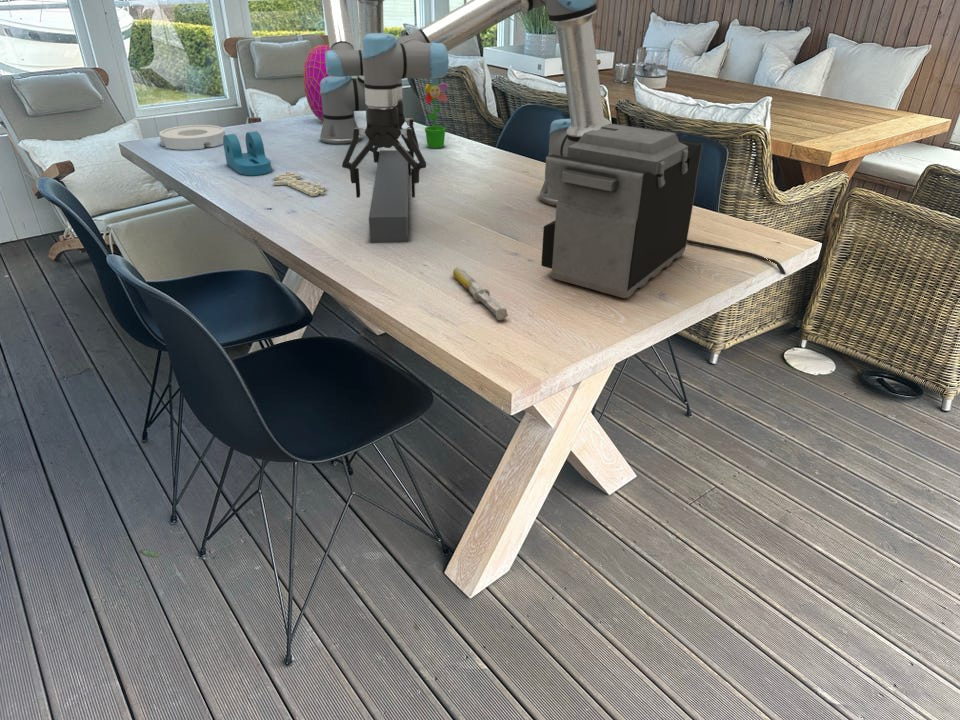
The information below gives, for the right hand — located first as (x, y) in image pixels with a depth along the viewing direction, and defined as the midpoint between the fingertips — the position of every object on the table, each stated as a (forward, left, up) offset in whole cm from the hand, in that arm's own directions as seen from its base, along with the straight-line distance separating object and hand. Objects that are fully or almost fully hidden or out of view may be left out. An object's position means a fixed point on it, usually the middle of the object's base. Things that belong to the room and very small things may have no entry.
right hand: (386, 196), depth 171 cm
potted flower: (+34, -89, -10) cm, 96 cm away
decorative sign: (+48, -24, -10) cm, 55 cm away
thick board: (+14, -25, -10) cm, 31 cm away
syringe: (-37, +23, -10) cm, 45 cm away
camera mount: (+74, -33, -10) cm, 82 cm away
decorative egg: (+95, -107, -10) cm, 144 cm away
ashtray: (+118, -52, -10) cm, 129 cm away
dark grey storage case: (-58, -6, -10) cm, 59 cm away
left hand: (+29, -50, -10) cm, 59 cm away
